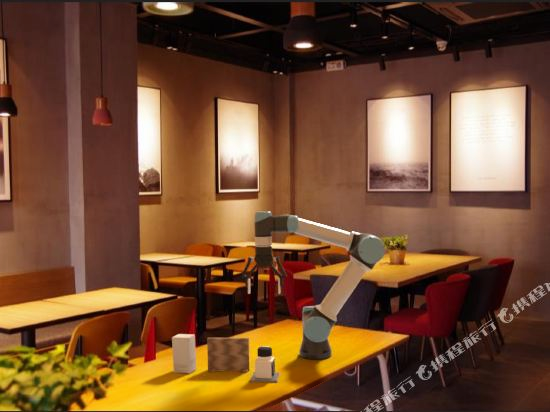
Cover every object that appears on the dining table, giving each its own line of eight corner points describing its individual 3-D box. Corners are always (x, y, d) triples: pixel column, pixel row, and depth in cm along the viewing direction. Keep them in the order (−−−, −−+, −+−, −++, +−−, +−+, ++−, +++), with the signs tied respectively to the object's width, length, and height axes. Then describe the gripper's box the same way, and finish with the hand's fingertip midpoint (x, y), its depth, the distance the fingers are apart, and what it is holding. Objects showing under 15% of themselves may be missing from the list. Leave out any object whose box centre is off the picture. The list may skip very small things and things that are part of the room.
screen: (250, 368, 261) (249, 336, 260) (248, 372, 255) (247, 340, 254) (209, 367, 262) (209, 336, 262) (206, 372, 256) (206, 339, 256)
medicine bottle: (272, 379, 243) (271, 349, 242) (254, 378, 244) (254, 349, 244) (275, 373, 250) (274, 345, 249) (258, 373, 251) (258, 344, 251)
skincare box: (196, 369, 260) (196, 334, 260) (189, 374, 254) (188, 337, 253) (179, 368, 263) (178, 333, 262) (172, 372, 256) (171, 336, 256)
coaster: (279, 374, 252) (279, 372, 252) (277, 382, 241) (277, 380, 241) (253, 373, 253) (253, 371, 253) (250, 382, 242) (250, 380, 242)
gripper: (291, 245, 268) (292, 291, 269) (237, 245, 271) (237, 292, 271) (290, 246, 261) (291, 294, 261) (234, 247, 263) (235, 294, 264)
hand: (264, 293), depth 266 cm, fingers open, 13 cm apart
